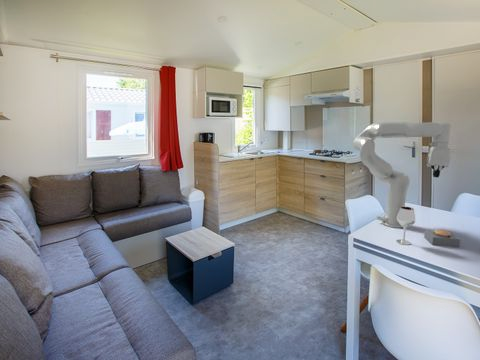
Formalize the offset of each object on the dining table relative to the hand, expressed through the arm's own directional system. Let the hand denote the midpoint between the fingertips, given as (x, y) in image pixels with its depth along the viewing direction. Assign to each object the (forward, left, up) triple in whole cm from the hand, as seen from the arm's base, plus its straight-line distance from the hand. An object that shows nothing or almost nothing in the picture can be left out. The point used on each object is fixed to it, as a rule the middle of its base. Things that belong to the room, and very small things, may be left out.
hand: (435, 176), depth 170 cm
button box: (-5, -28, -29) cm, 40 cm away
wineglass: (-24, -32, -29) cm, 49 cm away
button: (-5, -28, -28) cm, 40 cm away
